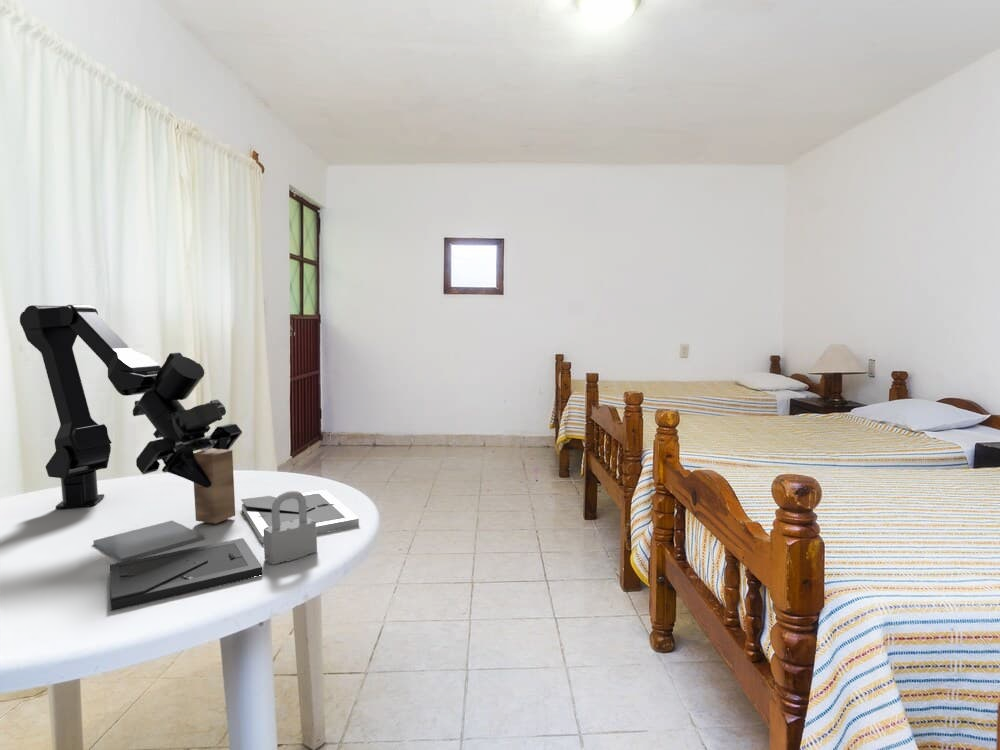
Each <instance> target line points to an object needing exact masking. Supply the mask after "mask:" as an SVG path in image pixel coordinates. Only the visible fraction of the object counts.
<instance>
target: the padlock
mask: <svg viewBox="0 0 1000 750" xmlns="http://www.w3.org/2000/svg"><path fill="white" fill-rule="evenodd" d="M292 498H294V499H297V501H298V504H299V519H296V520H290V521H286V522H282V523H280V505H281V503H282V502H283V501H285V500H287V499H292ZM263 533H264V534H263V536H264V545H263V551H264V552H263V555H264V560H265V561H267V562H268V563H269V564H271V565H274V564H275V565H277V564H281V563H284V561H286V562H290V561H289V560H291V561H293V560H292V559H294V560H298V559H301V558H303V557H305V556H309V555H311V554H314V552H315V553H316V552H317V551H318V541H317V534H316V521H314V520H312V519H310V518H308V517H307V508H306V499H305V497H304V495H303V493H301V492H300V491H297V490H296V491H295V490H291V491H287V492H286V491H285V492H283V493H281V494H279V495H277V496H276V499H275V500H274V502H273V504H272V526H269V527H265V528H264V529H263ZM308 554H309V555H308ZM300 557H301V558H300ZM297 558H298V559H297ZM280 562H281V563H280ZM276 563H277V564H276Z"/></svg>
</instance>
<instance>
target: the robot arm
mask: <svg viewBox="0 0 1000 750" xmlns="http://www.w3.org/2000/svg"><path fill="white" fill-rule="evenodd" d="M19 323H20V326H21V328H22V331H23V333H24V335H25V338H26V341H28V343H29V344H31V345H32V346H33V347H34V348H35V349H37V351H39V352H40V354H41V357H42V360H43V364H44V368H45V371H46V376H47V378H48V383H49V386H50V390H51V394H52V398H53V401H54V406H55V409H56V414H57V416H58V419H59V424H60V425H59V429H58V431H57V432H56V435H55V438H54V446H55V451H54V453H53V454H52V456H51V457H50V459H49V460H48V462H47V464H46V465H45V471H46V472H47V476H48V477H49V478H55V479H57V478H58V479H60V485H61V498H62V500H61V501H60V503H59V502H58V504H56V505H55V509H56V508H57V509H58V508H60V509H69V508H70V507H71V508H80V506H82V507H91V506H95V505H97V504H98V503H99V502H100V501H101V500H102V499H103V498H104V497H105V494H104V493H102V494H99V492H98V491H99V490H98V478H97V471H98V470H104V469H108V465H109V460H110V455H111V451H112V445H111V444H112V443H113V442H112V441H111V438H110V437H109V433H108V427H107V426H106V425H105V424H104V423H101V424H99V423H97V422H96V421H95V420H94V419H93V418H92V415H91V412H90V409H89V406H88V402H87V401H88V400H87V397H86V394H85V389H84V386H83V382H82V380H81V375H80V372H79V368H78V365H77V361H76V357H75V354H74V350H73V347H74V345H75V343H76V340H77V337H79V338H80V339H81V340H82V341H83V342H84V344H86V345H87V346H88V347H89V349H91V351H92V352H93V353H94V354H95V355H96V356H97V357H98V358H99V359H100V361H102V363H104V365H105V367H106V368H107V379H108V380H109V381H110V383H111V384H112V385H113V388H114V389H115V390H116V391H117V392H118V394H120V396H121V395H122V396H127V397H128V396H135V395H142V396H141V397H140V399H138V400H135V401H134V407H133V409H132V416H133V417H138V416H144V415H145V416H146V418H147V419H148V420H149V422H150V423H151V424H152V426H153V428H155V431H154V432H153V433H152V435H153V437H155V440H150V441H149V442H148V443H147V444H146V446H145V447H144V448H143V449H142V451H141V452H140V453H139V455H138V456H137V457H136V459H135V464H136V465H135V466H136V468H137V469H138V470H139V471H140V473H141V474H142V475H146V474H150V473H153V472H158V471H159V469H160V466H161V465H160V464H161V463H160V462H159V461H160V460H162V461H163V464H164V466H163V467H162V469H161V472H162V473H169V474H172V475H175V476H177V477H181V478H183V479H185V480H188V481H190V482H192V483H193V484H194V483H197V484H199V485H201V486H203V487H206V488H208V487H209V486H210V485H211V482H210V480H209V479H208V477H207V475H206V474H205V473H204V471H203V470H202V468H201V467H200V466H199V464H198V463H197V461H196V460H195V458H194V454H193V453H194V452H197V451H204V450H208V449H212V448H215V449H226V450H230V449H231V448H232V446H233V445H234V444H235V443H236V441H237V440H238V438H240V437H241V435H242V434H243V431H242V429H241V428H240V427H239V426H238V424H236V423H227V424H223V425H220V426H216V428H215V429H214V430H213V431H212V433H211V434H210V435H208V436H206V433H209V431H210V430H211V426H210V425H212V424H214V423H216V422H217V421H221V420H223V416H225V415H226V414H227V410H226V406H225V405H224V404H223V403H222V402H221V401H220V400H219V399H211V400H210V401H209V402H206V403H205V404H199V405H196V406H193V407H191V408H190V409H186V408H185V407H184V406H183V405H182V403H181V402H180V401H183V400H187V398H188V397H189V396H190V395H191V393H192V392H193V391H194V390H195V388H196V387H197V385H199V383H200V382H201V380H202V378H204V376H205V369H204V368H203V366H202V364H200V363H198V362H197V361H195V360H193V359H191V358H190V357H187V356H183V354H182V353H181V352H171V353H169V354H168V356H167V357H166V359H165V361H164V363H163V365H162V366H161V365H160V364H158V362H155V361H154V360H153V359H151V358H150V357H149V356H147V355H144V354H142V353H140V352H137V351H135V350H133V349H132V348H131V347H129V346H128V344H127V343H126V342H125V341H124V340H123V339H122V338H121V337H120V336H119V335H118V334H117V333H116V331H114V330H113V329H112V328H111V326H110V325H108V323H106V322H105V321H104V320H103V318H102V317H101V316H100V315H99V313H98V310H97V309H96V307H94V306H91V305H88V304H67V305H28V306H27V307H26V308H25V309H24V311H22V312H21V314H20V316H19ZM58 510H59V509H58Z"/></svg>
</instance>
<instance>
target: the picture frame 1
mask: <svg viewBox="0 0 1000 750" xmlns="http://www.w3.org/2000/svg"><path fill="white" fill-rule="evenodd" d="M263 572H264V571H263V566H262V564H261V563H260V561H259V559H257V557H256V555H255V554H254V552H253V551H252V549H251V548H250V546H249V544H247V541H246V540H245V539H244V537H243V538H237V539H232V540H231V539H230V540H226V541H221V542H216V543H211V544H205V545H200V546H196V547H191V548H185V549H182V550H175V551H170V552H166V553H161V554H156V555H149V556H144V557H140V558H137V559H133V560H130V561H124V562H120V561H119V562H116V563H115V562H114V563H110V564H109V595H110V596H109V601H110V603H109V604H110V611H111V612H113V611H114V612H115V611H117V610H118V611H119V610H123V609H127V608H130V607H134V606H139V605H143V604H144V605H145V604H149V603H152V602H157V601H160V600H164V599H169V598H173V597H178V596H182V595H186V594H190V593H195V592H198V591H203V589H204V590H209V589H212V588H215V587H216V588H217V587H219V585H221V586H224V584H225V585H228V583H229V584H233V583H237V582H236V581H238V582H241V581H240V580H242V581H244V579H246V580H249V579H248V578H250V579H252V578H251V577H254V576H259V575H263ZM259 577H260V576H259ZM232 582H233V583H232ZM211 587H212V588H211Z"/></svg>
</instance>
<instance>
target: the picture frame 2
mask: <svg viewBox="0 0 1000 750" xmlns="http://www.w3.org/2000/svg"><path fill="white" fill-rule="evenodd" d="M302 494H303V495H304V497H305V499H306V508H307V517H308V518H310V519H312V520H314V521H316V535H318V534H317V533H320V534H324V533H323V532H325V533H328V531H330V532H334V530H335V531H339V529H340V530H345V529H350V528H351V529H352V528H356V527H359V526H360V519H359V517H358V516H357V515H355V514H354V513H353V512H352V511H351V510H349V509H348V508H347V507H346V506H344V505H343V504H342V503H341V502H340V501H339V500H338V499H336V498H335V497H334V496H333V495H332V494H330V493H329V492H328V491H327V490H325V489H322V490H318V491H312V492H311V491H310V492H304V493H302ZM276 498H277V496H276V497H275V496H272V495H266V496H265V495H264V496H257V497H249V498H242V499H241V502H242V503H241V511H242V510H243V511H242V513H243V512H244V513H243V514H244V515H246V516H245V517H247V518H246V519H247V521H248V520H249V521H248V522H250V523H249V524H250V526H251V525H252V526H251V527H252V529H253V531H254V530H255V531H254V533H255V534H256V533H257V534H256V536H257V535H258V536H257V538H258V539H259V541H260V540H261V541H260V542H261V544H262V543H263V544H264V536H263V534H264V533H263V529H264V528H265V527H269V526H272V504H273V502H274V500H275V499H276ZM296 519H299V504H298V501H297V499H294V498H292V499H287V500H285V501H283V502H282V503H281V505H280V523H282V522H286V521H290V520H296ZM263 544H262V545H263Z"/></svg>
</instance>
